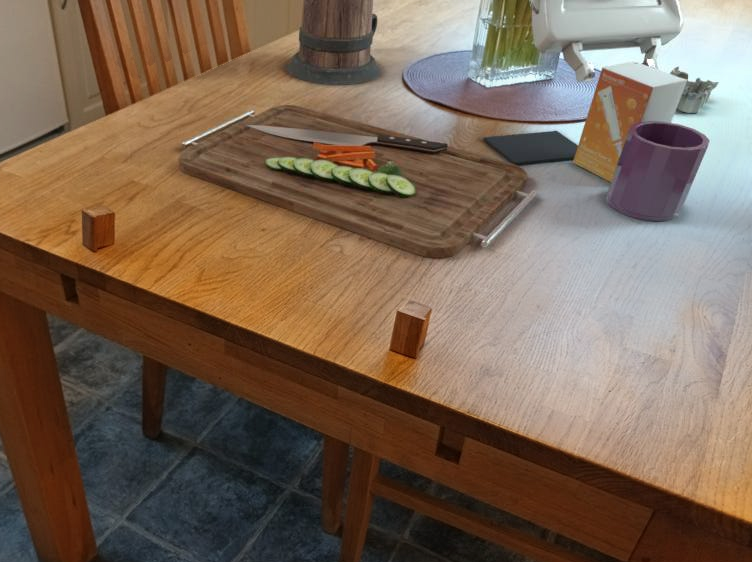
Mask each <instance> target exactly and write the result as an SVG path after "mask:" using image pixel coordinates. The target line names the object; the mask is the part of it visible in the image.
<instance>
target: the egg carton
mask: <svg viewBox="0 0 752 562" xmlns="http://www.w3.org/2000/svg"><path fill="white" fill-rule="evenodd" d="M679 69H680V66H676V67H674V68H673V69H672V70H671V71H670V72H669V74H671V75H674V76H677V77H680V78H683V79H686V80H687V82H686V85H685V87H684V90H683V93H682V95H681V98H680V100H679V103H678V106H677V108H676V110H677V111H681V112H684V113H687V114H699V112H700V110H701V108H703V107H704V105H705V103H707V102H708V101H709V99H710V96H711V95H712V91H713V90H714V89H716V88H717V86H718V85H719V81H712V80H709V79H707V80H706V81H704V80H702V79H701V77H696V78H695V81H691V80H689V73H688V72H685V71H681V70H679Z"/></svg>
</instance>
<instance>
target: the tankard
mask: <svg viewBox="0 0 752 562" xmlns="http://www.w3.org/2000/svg"><path fill="white" fill-rule="evenodd" d="M373 10H374V0H303V2H302V13H301V14H302V15H301V17H302V18H301V25H300V27H299V31H298V42H299V47H298V49H299V50H298V51H296V52H295V54H294V55H293V56H292V59H291V60H290V61H289V62H288V63H287V65H286V71H287V72H288V73H289V75H290V76H293V77H295V78H297V79H299V80H303V81H305V82H311V83H316V84H321V85H337V86H339V85H340V86H342V85H357V84H362V83H367V82H370V81H373V80H374V79H377V78H378V77H379V76H380V75H381V68H380V67H379V66H378V65H377V63H376V59H375V57H374V56H373V55H372V54H371V48H372V44H373V38H374V36H375V34H376V31H377V27H378V19H379V18H378V15H377V14H376V13H374V11H373Z"/></svg>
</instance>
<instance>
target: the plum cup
mask: <svg viewBox="0 0 752 562" xmlns="http://www.w3.org/2000/svg"><path fill="white" fill-rule="evenodd" d="M709 144H710V139H709V138H708V136H706V134H704V133H703V132H701V131H699V130H697V129H695V128H692V127H688V126H687V125H684V124H679V123H674V122H671V123H669V122H661V121H645V122H638V123H635V124H633V125H631V127H630V129H629V131H628V134H627V137H626V140H625V143H624V146H623V149H622V152H621V155H620V158H619V161H618V164H617V166H616V169H615V172H614V175H613V178H612V181H611V182H610V184H609V187H608V191H607V193H606V197H605V199H606V203H607V204H608V206H610V207H611V208H612V210H615V211H617V212H619V213H621V214H622V215H625V216H628V217H630V218H634V219H638V220H643V221H649V222H665V221H671V220H673V219H675V218H677V217H678V216H680V213H681V211H682V209H683V207H684V205H685V202H686V200H687V197H688V195H689V192H690V190H691V188H692V186H693V183H694V181H695V179H696V176H697V174H698V172H699V169H700V166H701V165H702V162H703V159H704V157H705V155H706V152H707V150H708V147H709Z"/></svg>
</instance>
